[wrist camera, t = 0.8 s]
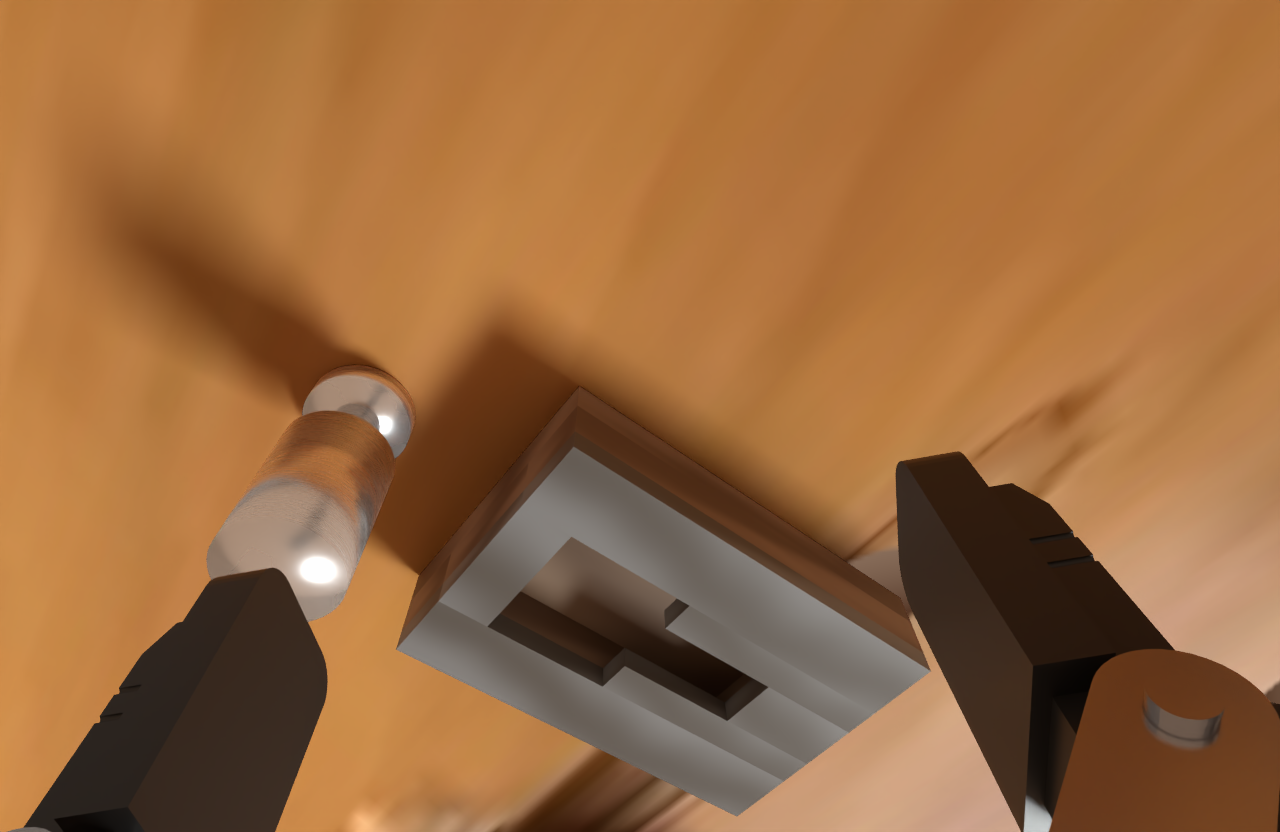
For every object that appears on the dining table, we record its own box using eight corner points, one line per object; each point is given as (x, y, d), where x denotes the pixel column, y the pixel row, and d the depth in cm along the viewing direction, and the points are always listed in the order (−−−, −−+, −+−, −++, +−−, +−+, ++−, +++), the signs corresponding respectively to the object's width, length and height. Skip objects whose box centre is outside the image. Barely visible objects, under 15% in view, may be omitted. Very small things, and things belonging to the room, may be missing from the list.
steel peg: (341, 345, 31) (242, 495, 23) (434, 402, 32) (372, 562, 24) (292, 419, 33) (184, 583, 25) (383, 470, 34) (308, 642, 26)
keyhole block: (579, 386, 32) (573, 446, 28) (900, 598, 38) (930, 671, 34) (418, 576, 37) (396, 649, 33) (727, 738, 43) (736, 816, 39)
